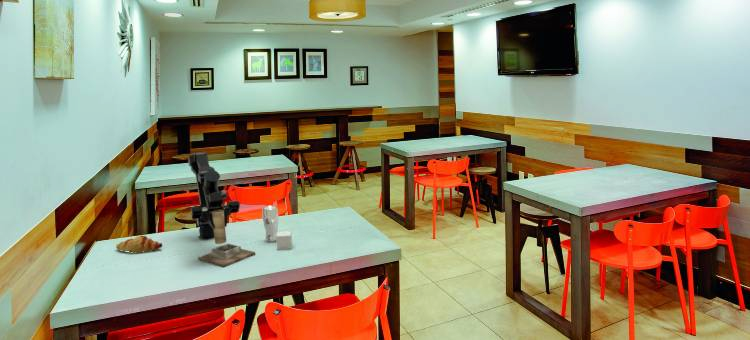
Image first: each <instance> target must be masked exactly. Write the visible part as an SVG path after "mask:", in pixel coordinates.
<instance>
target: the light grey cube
mask: <svg viewBox="0 0 750 340" xmlns="http://www.w3.org/2000/svg"><path fill="white" fill-rule="evenodd" d="M292 237H293V236H292V230H289V231H286V230H285V231H278V232H277V236H276V240H277V241H276V250H279V251H281V250H289V249H290V250H292V248H293V240H292Z"/></svg>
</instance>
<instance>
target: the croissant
mask: <svg viewBox="0 0 750 340" xmlns="http://www.w3.org/2000/svg"><path fill="white" fill-rule="evenodd" d="M162 247H163V243H162V242H158V241H156V240H153V239H152V238H149V237H147V236H146V235H139V236H136V237H134V238H128V239H126V240H125V241H121V242H119V243H117V244H116V246H115V248H116V249H117V250H118V249H119V250H118V251H120V250H122V251H121V252H123V251H129V252H141V253H144V252H143V251H149V252H152V251H151V250H154V251H157V250H160V249H161V248H162Z"/></svg>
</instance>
